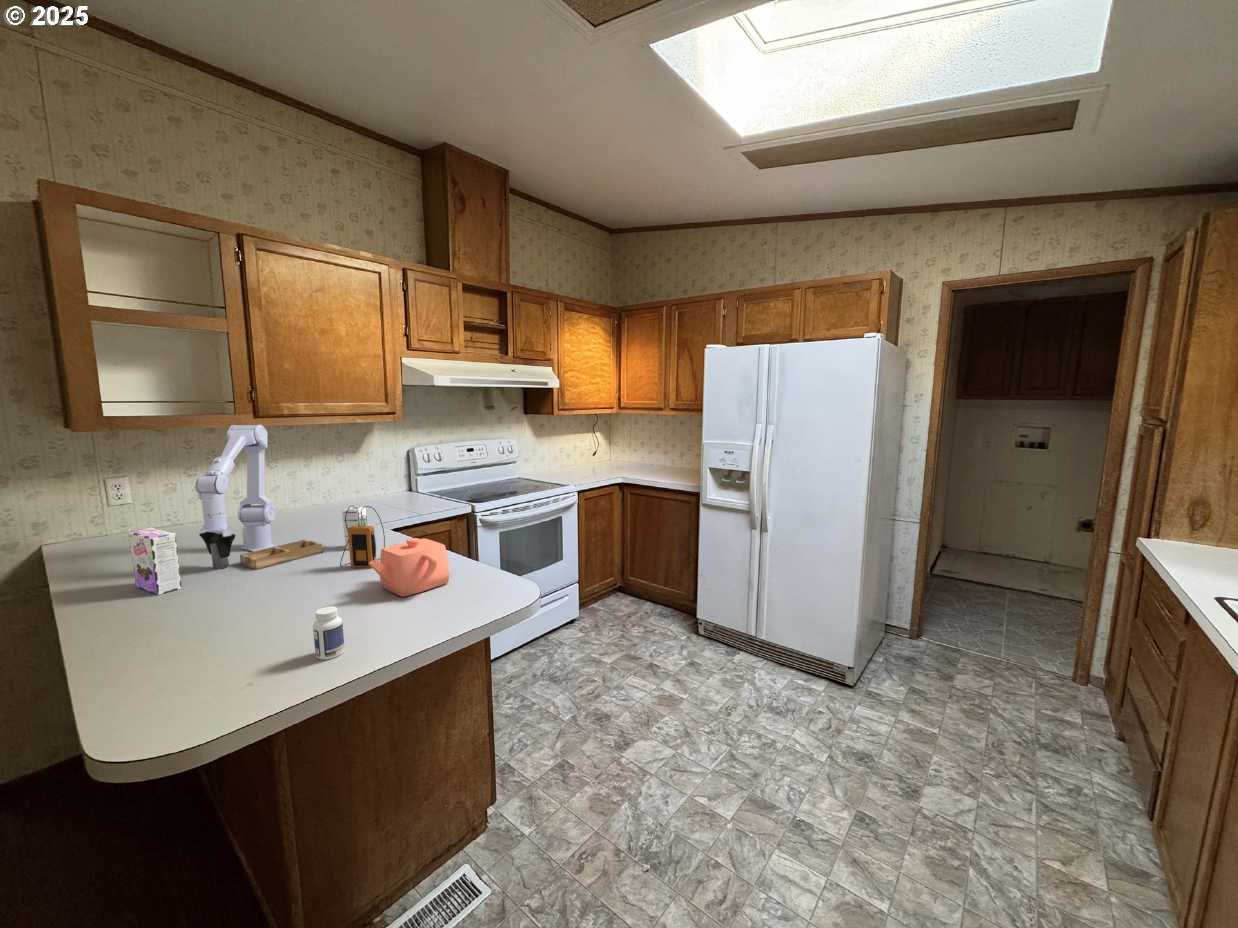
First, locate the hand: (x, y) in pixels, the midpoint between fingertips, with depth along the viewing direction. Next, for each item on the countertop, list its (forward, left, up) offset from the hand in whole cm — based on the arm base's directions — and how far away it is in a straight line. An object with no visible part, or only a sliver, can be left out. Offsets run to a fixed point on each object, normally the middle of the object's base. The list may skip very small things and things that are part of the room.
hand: (219, 555), depth 163 cm
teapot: (+67, +19, -4) cm, 70 cm away
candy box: (+5, -17, -4) cm, 18 cm away
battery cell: (0, 0, -4) cm, 4 cm away
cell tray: (+7, +15, -4) cm, 17 cm away
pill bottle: (+85, -13, -4) cm, 86 cm away
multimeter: (+37, +27, -4) cm, 46 cm away
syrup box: (+17, +35, -4) cm, 39 cm away
